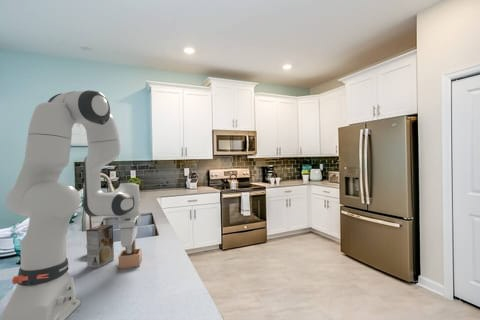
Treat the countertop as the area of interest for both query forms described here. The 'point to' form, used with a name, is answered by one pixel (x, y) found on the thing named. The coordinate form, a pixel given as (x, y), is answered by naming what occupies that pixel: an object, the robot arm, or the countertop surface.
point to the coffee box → (99, 245)
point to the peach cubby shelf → (130, 259)
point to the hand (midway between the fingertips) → (130, 250)
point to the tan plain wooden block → (132, 249)
